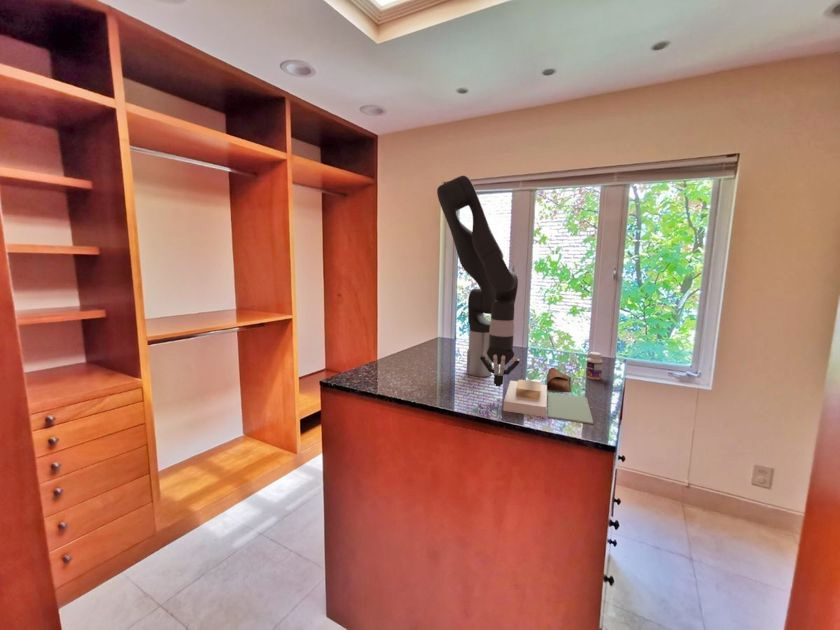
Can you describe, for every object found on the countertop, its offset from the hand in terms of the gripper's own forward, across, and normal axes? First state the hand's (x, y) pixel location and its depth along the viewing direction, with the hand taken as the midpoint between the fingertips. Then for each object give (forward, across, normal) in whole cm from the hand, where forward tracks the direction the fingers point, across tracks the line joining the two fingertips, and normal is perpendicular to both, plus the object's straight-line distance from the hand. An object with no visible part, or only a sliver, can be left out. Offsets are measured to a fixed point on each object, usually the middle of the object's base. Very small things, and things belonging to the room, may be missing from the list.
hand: (498, 385), depth 120 cm
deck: (+4, +9, 0) cm, 10 cm away
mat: (+4, +21, +1) cm, 22 cm away
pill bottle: (+4, +31, +36) cm, 48 cm away
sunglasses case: (+5, +19, +23) cm, 30 cm away
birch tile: (+1, +9, 0) cm, 9 cm away
